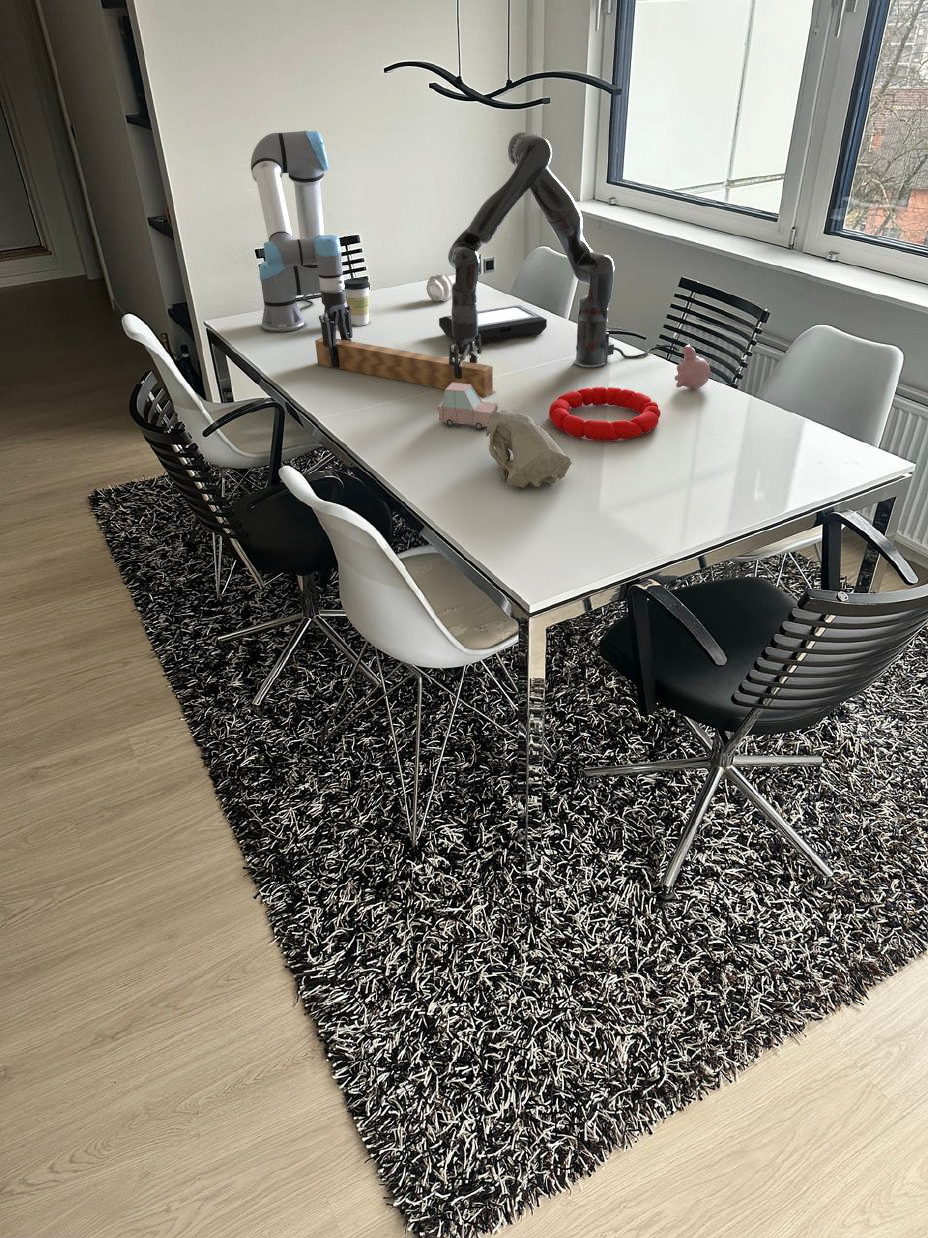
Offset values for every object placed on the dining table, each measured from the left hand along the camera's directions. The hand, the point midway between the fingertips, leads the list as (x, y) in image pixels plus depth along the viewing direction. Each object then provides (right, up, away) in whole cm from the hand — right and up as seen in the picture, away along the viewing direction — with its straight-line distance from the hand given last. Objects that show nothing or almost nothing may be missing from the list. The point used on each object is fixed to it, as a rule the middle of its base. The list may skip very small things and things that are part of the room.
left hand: (340, 364), depth 288 cm
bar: (+20, -7, -10) cm, 24 cm away
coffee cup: (+2, +26, +39) cm, 47 cm away
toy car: (+41, -29, -43) cm, 66 cm away
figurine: (+107, -15, -26) cm, 111 cm away
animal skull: (+54, -46, -68) cm, 98 cm away
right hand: (+41, -10, -24) cm, 48 cm away
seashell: (+32, +42, +60) cm, 80 cm away
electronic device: (+50, +17, +23) cm, 57 cm away
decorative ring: (+78, -29, -44) cm, 94 cm away
